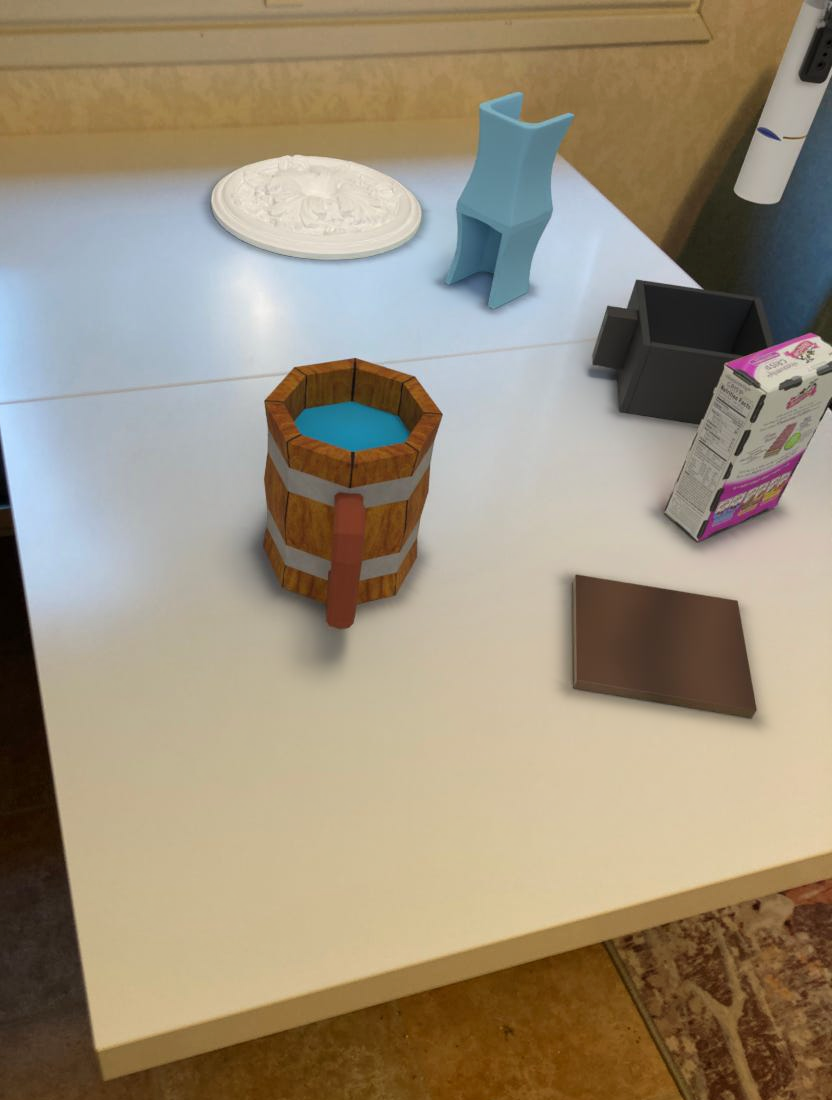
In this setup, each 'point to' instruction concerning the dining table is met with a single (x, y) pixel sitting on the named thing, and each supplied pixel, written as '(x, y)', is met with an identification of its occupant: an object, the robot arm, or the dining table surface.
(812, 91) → the tube
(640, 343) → the dark gray open box
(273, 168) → the ceiling medallion
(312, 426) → the mug
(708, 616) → the cutting board
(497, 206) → the blue flared stand
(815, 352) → the candy bar box
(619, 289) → the dining table surface
